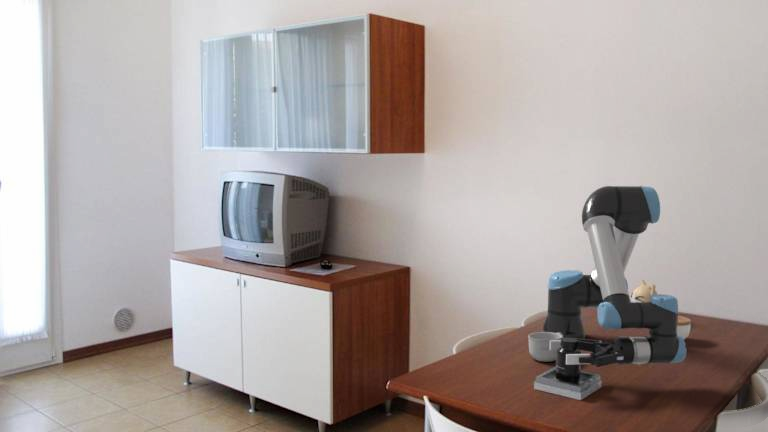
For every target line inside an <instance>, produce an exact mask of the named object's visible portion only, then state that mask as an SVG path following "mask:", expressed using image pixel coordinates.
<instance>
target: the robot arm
mask: <svg viewBox="0 0 768 432" xmlns="http://www.w3.org/2000/svg"><path fill="white" fill-rule="evenodd" d="M660 216H661V202H660V198H659V195H658V192H657V190H656V189H655V188H654V187H651V186H643V185H639V186H638V185H637V186H635V185H634V186H632V185H631V186H629V185H625V186H620V185H619V186H615V185H614V186H613V185H606V186H602V187H600V188H598V189H596V190H595V191H593V192H591V194H590V195H589V196H588V197H587V199H586V200H585V203H584V205H583V208H582V212H581V223H582V227H583V231H584V232H586V233H587V236H588V239H589V244H590V249H591V253H592V257H593V261H594V266H595V267H594V268H593V269H592V271H591V274H583V271H581V270H577V269H576V270H574V269H573V270H571V269H569V270H568V269H567V270H560V271H556V272H553V273H552V274H550V276H549V277H548V285H547V290H548V292H547V293H548V294H547V315H546V318H545V320H544V323H543V326H542V328H541V329H542V330H541V332H552V333H562V334H563V337H564V338H574V339H577V340H578V347H577V349H579V350H580V351H584V352H590V353H581V354H566V365H575V364H581V365H592V366H595V367H596V368H600V367H604V366H608V365H614V364H618V365H631V364H633V365H634V364H635V365H636V364H637V366H641V365H642V364H667V365H668V364H675V363H680V362H683V361H684V360H685V359H686V356H687V348H686V342H685V339H684V340H683V339H682V338H681V337H679V336H677V322H678V316H679V301H678V298H677V297H675V296H674V295H669V294H661V293H660V294H658V293H657V295H652V296H651V297H650V301H649V302H635V303H634V302H632V301H631V296H630V293H629V286H628V281H627V278H626V276H625V272H626V270H627V269H626V268H627V265H628V264H629V260H630V258H631V256H632V253H633V250H634V248H635V246H636V243H637V240H638V238H639V235H641V234H642V233H644V232H645V231H646V230H647V228H648V226H649V224H650V225H651V224H655V223H658V222H659V220H660ZM582 308H586V309H587V308H590V309H592V308H593V309H595V308H596V309H597V311H596V313H597V314H596V315H597V322H598V324H599V325H600V327H601V328H602V329H605V330H625V329H626V330H628V329H629V330H633V329H635V330H636V329H637V330H648V334H649V336H630V337H627V336H625V337H622V336H621V337H616V338H615V339H614V340H613V342H612V343H609V342H606V340H603V339H588V338H586V329H585V326H584V322H583V319H582ZM560 343H561V340H551V341H550V350H558V348H560V347H561V346H560Z"/></svg>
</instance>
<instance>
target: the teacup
mask: <svg viewBox="0 0 768 432" xmlns="http://www.w3.org/2000/svg"><path fill="white" fill-rule="evenodd" d="M527 335H528V336H527V338H528V350H529V351H528V352H529V355H530V356H531V357H532V358H534V360H536V361H538V362H546V363H548V362H556V354H557V350H550V341H551V340H561V339H562V338H564V337H563V334H562V333H552V332H542V331H538V332H532V333H529V334H527Z"/></svg>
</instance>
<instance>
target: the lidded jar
mask: <svg viewBox="0 0 768 432" xmlns="http://www.w3.org/2000/svg"><path fill="white" fill-rule="evenodd" d="M691 324H692V319H691V318H689V317H687V316H682V315H678V322H677V336H679V337H681V338H682V339H683V340H684V341H685V340H686V339H687V338H688V337H689V335H690V332H691Z"/></svg>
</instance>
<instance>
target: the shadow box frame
mask: <svg viewBox="0 0 768 432" xmlns="http://www.w3.org/2000/svg"><path fill="white" fill-rule="evenodd" d="M602 382H603V381H602V379H601V374H597V373H592V372H588V371H584V370H580V381H579V382H578V383H576V384H571V383H567V382H562V381H558V380H556V365H555V366H553V367H552V368H550V369H548V370H545V371H544V372H542V373H540V374H538V375H536V376H535V381H534V382H533V389H534V390H537V391H542V392H546V393H550V394H554V395H557V396H560V397H561V396H562V397H564V398H565V397H566V398H569V399H573V400H578V401H582V400H583V399H585V398H587V397H588V396H589V395H591V394H593V393H594V392H596V391H597V390H599V389H600V388H602Z"/></svg>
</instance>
